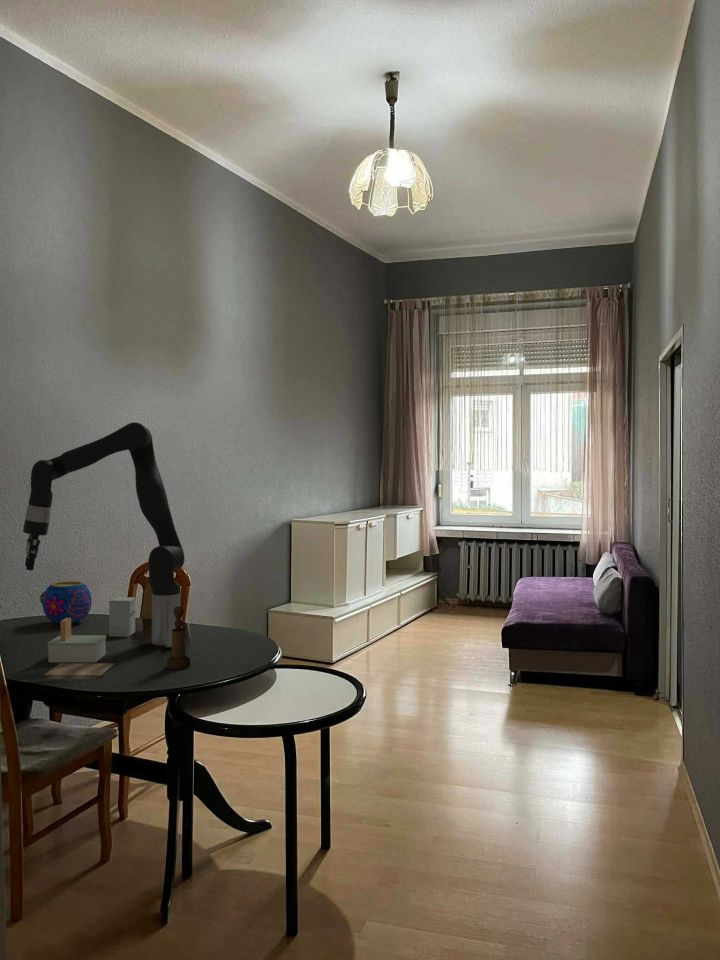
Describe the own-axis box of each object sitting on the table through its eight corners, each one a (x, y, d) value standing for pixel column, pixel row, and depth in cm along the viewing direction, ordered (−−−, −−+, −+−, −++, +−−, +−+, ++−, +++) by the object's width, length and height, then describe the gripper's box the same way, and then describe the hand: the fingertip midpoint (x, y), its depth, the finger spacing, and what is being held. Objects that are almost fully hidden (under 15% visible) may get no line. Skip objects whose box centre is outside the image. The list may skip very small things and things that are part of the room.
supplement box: (129, 636, 282) (129, 600, 282) (108, 636, 283) (108, 600, 282) (136, 632, 290) (135, 597, 289) (115, 632, 290) (115, 596, 290)
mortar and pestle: (167, 670, 238) (167, 609, 238) (166, 664, 245) (166, 605, 244) (190, 668, 240) (190, 608, 240) (189, 663, 247) (189, 604, 246)
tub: (105, 657, 253) (105, 638, 253) (95, 665, 243) (95, 645, 243) (60, 657, 253) (60, 638, 253) (48, 665, 243) (48, 645, 243)
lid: (106, 640, 253) (106, 616, 253) (95, 647, 243) (95, 623, 243) (59, 639, 253) (59, 616, 253) (47, 647, 243) (47, 622, 243)
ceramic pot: (72, 616, 317) (72, 578, 317) (101, 622, 307) (101, 582, 307) (32, 624, 303) (31, 584, 302) (61, 630, 293) (61, 588, 292)
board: (114, 666, 242) (114, 663, 242) (100, 678, 229) (100, 675, 229) (60, 666, 242) (60, 663, 242) (43, 678, 229) (43, 675, 229)
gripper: (50, 523, 264) (42, 572, 264) (47, 519, 277) (39, 566, 277) (26, 520, 261) (17, 570, 261) (24, 516, 274) (16, 563, 274)
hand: (28, 568), depth 269 cm, fingers open, 8 cm apart
